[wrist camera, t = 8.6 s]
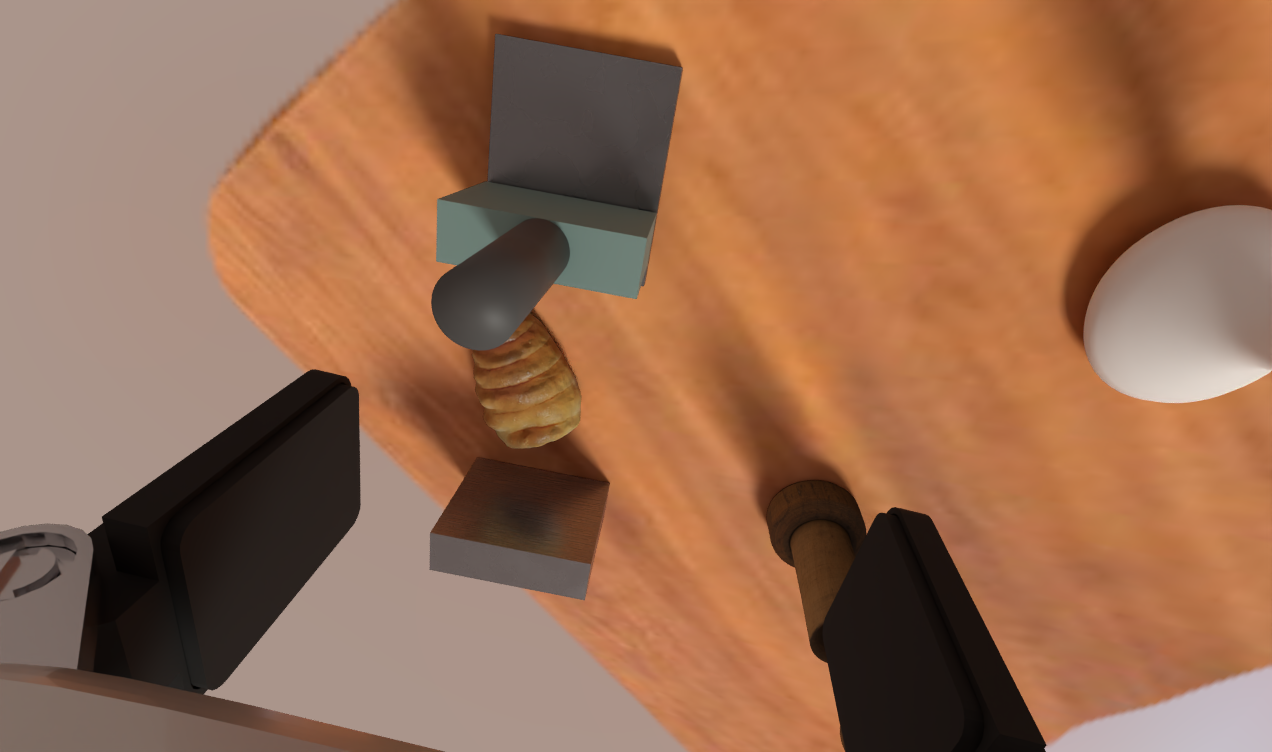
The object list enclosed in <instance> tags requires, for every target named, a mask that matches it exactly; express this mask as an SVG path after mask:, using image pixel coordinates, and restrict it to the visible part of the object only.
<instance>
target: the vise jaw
mask: <svg viewBox="0 0 1272 752" xmlns="http://www.w3.org/2000/svg"><path fill="white" fill-rule="evenodd" d="M656 214H657V213H654V212H648V211H643V210H638V209H632V208H627V207H621V206H616V205H611V204H605V203H600V202H595V201H589V200H584V199H578V198H573V197H568V196H562V195H557V194H551V193H546V192H541V191H535V190H530V189H525V188H519V187H514V186H508V185H503V184H498V183H492V182H487V181H486V182H483V183H480V184H477V185H475V186H472V187H469V188H467V189H464V190H461V191H458V192H456V193H453V194H450V195H447V196H445V197H442V198H439V199H437V252H436V261H437V262H442V263H447V264H453V265H457V266H456V267H454V268H453V269H451V270H450V271H448V272H447V273H445V274H444V275H443V276H442V277H441V278H440V279H439V280H438V282H437V283H436V285H435V287H434V290H433V293H432V300H431V304H432V311H433V315H434V318H435V320H436V322H437V324H438V326H439V328H440V329H441V330H442V332H443V333H444V334H445V335H446V336H447V337H448V338H449V339H451V340H452V341H453V342H455V343H456V344H458V345H460V346H462V347H465V348H468V349H472V350H490V349H494V348H496V347H499V346H500V345H502V344H503V343H505V342H506V341H507V340H508V339H509V338H510V337H511V335H512V334H513V333H514V332H515V330H516V329H517V328H518V327H519V325H520V324H521V323H522V322H523V321H524V319H525V318H526V317H527V316H528V314H529V313H530V312H531V311H532V309H533V308H534V307H535V306H536V304H537V303H538V302H539V301H540V299H541V298H542V297H543V296H544V294H545V293H546V292H547V291H548V289H549V288H550V287H551V286H552V284H559V285H564V286H569V287H575V288H580V289H585V290H591V291H596V292H601V293H607V294H612V295H617V296H623V297H628V298H633V299H637V296H638V293H639V290H640V287H641V284H642V280H643V277H644V274H645V271H646V268H647V265H648V260H649V254H650V248H651V242H652V237H653V231H654V225H655V220H656Z"/></svg>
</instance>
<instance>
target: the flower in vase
mask: <svg viewBox="0 0 1272 752" xmlns="http://www.w3.org/2000/svg"><path fill="white" fill-rule="evenodd" d="M1084 346H1085V352H1086V354H1087V357H1088V360H1089V362H1090V364H1091V366H1092V368H1093V369H1094V371H1095V372H1096V373H1097V375H1098V376H1099V377H1100V378H1101V379H1102V380H1103V381H1104V382H1105V383H1106V384H1108V385H1109V386H1110V387H1112V388H1114V389H1115V390H1117V391H1119V392H1121V393H1123V394H1126V395H1128V396H1131V397H1135V398H1138V399H1142V400H1149V401H1156V402H1164V403H1185V402H1195V401H1200V400H1205V399H1209V398H1213V397H1217V396H1220V395H1223V394H1226V393H1228V392H1231V391H1233V390H1236V389H1239V388H1241V387H1244V386H1246V385H1248V384H1250V383H1252V382H1254V381H1256V380H1258V379H1260V378H1261V377H1263V376H1265V375H1266V374H1268V373H1269V372H1271V371H1272V210H1270V209H1266V208H1263V207H1257V206H1249V205H1228V206H1220V207H1213V208H1209V209H1204V210H1200V211H1196V212H1193V213H1191V214H1188V215H1185V216H1182V217H1180V218H1177V219H1175V220H1173V221H1171V222H1169V223H1167V224H1165V225H1163V226H1161V227H1159V228H1158V229H1156V230H1154V231H1153V232H1151V233H1149V234H1148V235H1146V236H1145V237H1143V238H1142V239H1140V240H1139V241H1138V242H1136V243H1135V244H1133V245H1132V246H1131V247H1130V248H1129V249H1128V250H1126V251H1125V252H1124V253H1123V254H1122V255H1121V256H1120V257H1119V258H1118V259H1117V260H1116V261H1115V262H1114V263H1113V264H1112V265H1111V267H1110V268H1109V269H1108V270H1107V272H1106V273H1105V274H1104V276H1103V277H1102V279H1101V280H1100V282H1099V283H1098V285H1097V287H1096V288H1095V290H1094V293H1093V295H1092V297H1091V299H1090V302H1089V305H1088V309H1087V312H1086V316H1085V323H1084Z"/></svg>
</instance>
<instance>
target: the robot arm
mask: <svg viewBox="0 0 1272 752" xmlns="http://www.w3.org/2000/svg"><path fill="white" fill-rule="evenodd" d="M359 510H360V440H359V393H358V390H357V388H355V387H352V386H351V383H350V381H349V379H348V378H347V377H345V376H341V375H337V374H333V373H329V372H324V371H320V370H310V371H308V372H306V373H305V374H304V375H302V376H301V377H299V378H298V379H297V380H295V381H294V382H292V383H291V384H289V385H288V386H287V387H285V388H284V389H282V390H281V391H279V392H278V393H277V394H275V395H274V396H272V397H271V398H269V399H268V400H267V401H265V402H264V403H262V404H261V405H260V406H258V407H257V408H255V409H254V410H252V411H251V412H250V413H248V414H247V415H245V416H244V417H243V418H241V419H240V420H239V421H237V422H235V423H234V424H233V425H231V426H230V427H228V428H227V429H226V430H224V431H223V432H221V433H220V434H218V435H217V436H216V437H214V438H213V439H211V440H210V441H209V442H207V443H206V444H204V445H203V446H202V447H200V448H199V449H197V450H196V451H195V452H193V453H192V454H190V455H189V456H187V457H186V458H185V459H183V460H182V461H180V462H179V463H177V464H176V465H175V466H173V467H172V468H171V469H169V470H167V471H166V472H165V473H163V474H162V475H160V476H159V477H157V478H156V479H155V480H153V481H152V482H151V483H149V484H148V485H146V486H145V487H143V488H142V489H140V490H139V491H138V492H136V493H135V494H133V495H132V496H131V497H129V498H128V499H126V500H125V501H123V502H122V503H121V504H119V505H118V506H116V507H115V508H114V509H112V510H111V511H109V512H108V513H106V514H105V515H104V516H102V520H103V524H101V525H100V526H99V527H97V528H96V529H94V530H93V531H92V532H90V533H89V534H86V533H85V532H84V531H83V530H81V529H78V528H75V527H72V526H69V525H60V524H39V525H29V526H22V527H18V528H14V529H10V530H6V531H2V532H0V752H443V751H440V750H435V749H431V748H427V747H423V746H419V745H415V744H410V743H406V742H402V741H398V740H394V739H390V738H386V737H381V736H377V735H373V734H368V733H365V732H360V731H356V730H352V729H348V728H344V727H340V726H335V725H331V724H327V723H323V722H319V721H314V720H310V719H306V718H302V717H298V716H293V715H289V714H285V713H280V712H277V711H272V710H268V709H264V708H260V707H256V706H252V705H247V704H243V703H239V702H234V701H229V700H225V699H221V698H216V697H211V696H207V695H203V694H204V693H205V692H206V691H207V690H208V689H209V690H215V689H217V688H218V687H220V686H221V685H222V684H223V683H224V682H225V681H226V680H227V679H228V678H229V676H230V675H231V674H232V673H233V672H234V670H235V669H236V668H237V667H238V665H239V664H240V663H241V662H242V660H243V659H244V658H245V657H246V656H247V654H248V653H249V652H250V651H251V649H252V648H253V647H254V646H255V644H256V643H257V642H258V641H259V640H260V638H261V637H262V636H263V635H264V634H265V632H266V631H267V630H268V629H269V627H270V626H271V625H272V624H273V623H274V621H275V620H276V619H277V618H278V616H279V615H280V614H281V613H282V612H283V610H284V609H285V608H286V607H287V605H288V604H289V603H290V602H291V601H292V599H293V598H294V597H295V596H296V594H297V593H298V592H299V591H300V590H301V588H302V587H303V586H304V585H305V583H306V582H307V581H308V580H309V579H310V577H311V576H312V575H313V574H314V572H315V571H316V570H317V568H318V567H319V566H320V565H321V564H322V563H323V561H324V560H325V559H326V557H328V555H329V554H330V553H331V552H332V550H333V549H334V548H335V547H336V545H337V544H338V543H339V542H340V541H341V539H342V538H343V537H344V536H345V534H346V533H347V532H348V531H349V529H350V528H351V527H352V526H353V524H354V523H355V521H356V519H357V516H358V514H359ZM823 642H824V647H825V652H826V657H827V662H828V667H829V672H830V677H831V682H832V687H833V691H834V696H835V701H836V706H837V711H838V716H839V721H840V726H841V731H842V736H843V741H844V746H845V751H846V752H1046V751H1045V749H1044V748H1045V747H1046V743H1045V741H1044V739H1043V737H1042V735H1041V733H1040V731H1039V729H1038V727H1037V725H1036V724H1035V722H1034V720H1033V718H1032V716H1031V714H1030V712H1029V710H1028V708H1027V706H1026V704H1025V702H1024V700H1023V698H1022V696H1021V694H1020V692H1019V690H1018V688H1017V686H1016V684H1015V682H1014V680H1013V678H1012V676H1011V674H1010V672H1009V670H1008V668H1007V667H1006V665H1005V663H1004V661H1003V659H1002V657H1001V655H1000V653H999V651H998V649H997V647H996V645H995V643H994V641H993V639H992V637H991V635H990V633H989V631H988V629H987V627H986V625H985V623H984V621H983V619H982V617H981V615H980V613H979V612H978V610H977V608H976V606H975V604H974V602H973V600H972V598H971V596H970V594H969V592H968V590H967V588H966V586H965V584H964V582H963V580H962V578H961V576H960V574H959V572H958V570H957V568H956V566H955V564H954V562H953V560H952V558H951V556H950V555H949V553H948V551H947V549H946V547H945V545H944V543H943V541H942V539H941V537H940V535H939V533H938V531H937V529H936V527H935V525H934V523H933V521H932V519H931V518H930V517H929V516H928V515H926V514H922V513H918V512H913V511H909V510H905V509H901V508H897V507H894V508H891V509H890V510H889V511H888V512H887V513H879V514H878V515H877V516H876V518H875V519H874V521H873V523H872V525H871V527H870V529H869V531H868V533H867V535H866V537H865V539H864V541H863V543H862V545H861V547H860V549H859V551H858V553H857V555H856V557H855V559H854V561H853V563H852V565H851V567H850V569H849V571H848V573H847V575H846V577H845V579H844V581H843V583H842V585H841V587H840V589H839V591H838V593H837V595H836V597H835V599H834V601H833V603H832V605H831V607H830V609H829V611H828V612H827V614H826V617H825V619H824V623H823Z"/></svg>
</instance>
